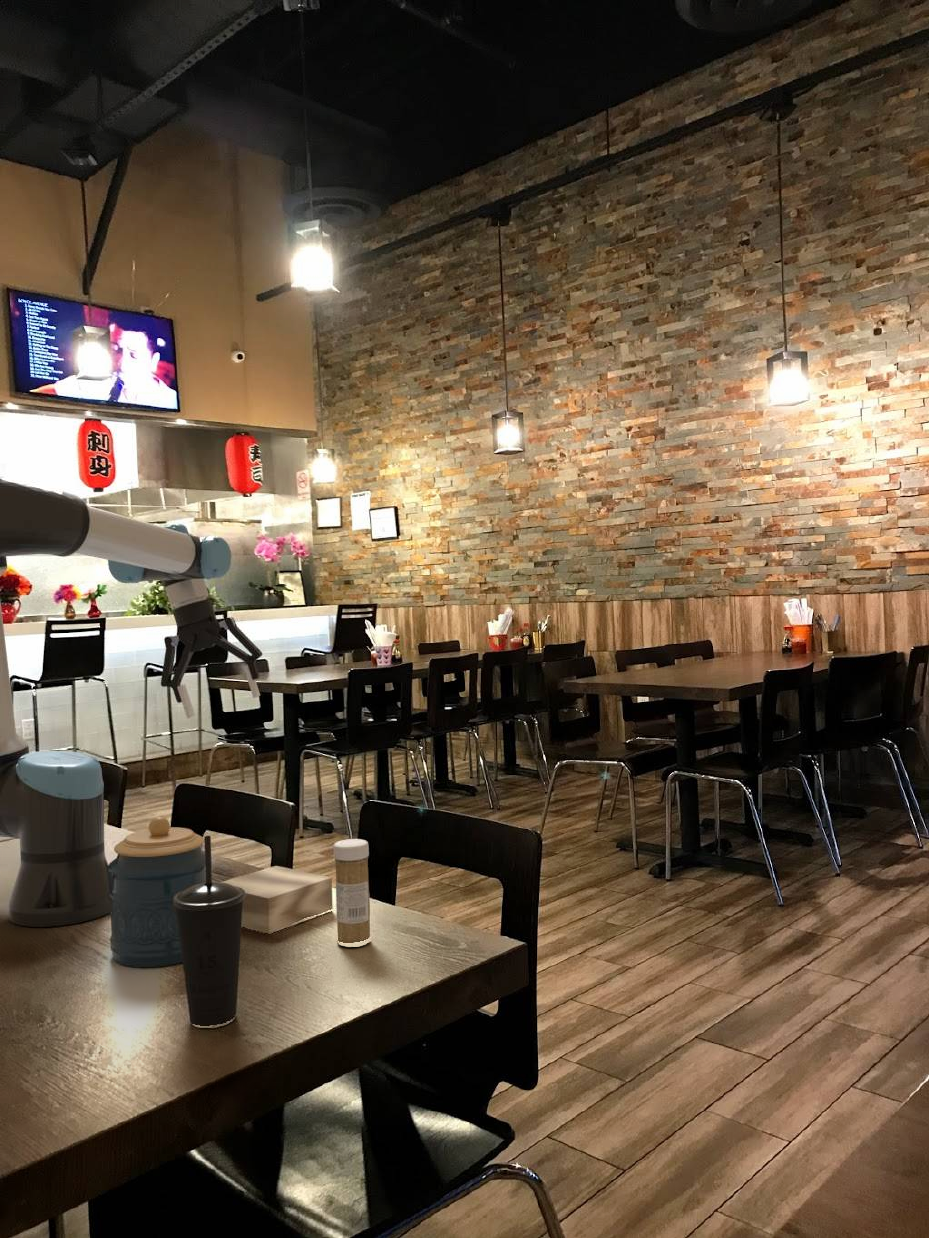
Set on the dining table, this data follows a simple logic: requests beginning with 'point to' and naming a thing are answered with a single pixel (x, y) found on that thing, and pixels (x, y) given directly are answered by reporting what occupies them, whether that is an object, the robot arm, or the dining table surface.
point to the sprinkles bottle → (352, 890)
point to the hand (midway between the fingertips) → (224, 707)
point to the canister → (152, 892)
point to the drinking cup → (210, 946)
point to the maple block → (282, 897)
